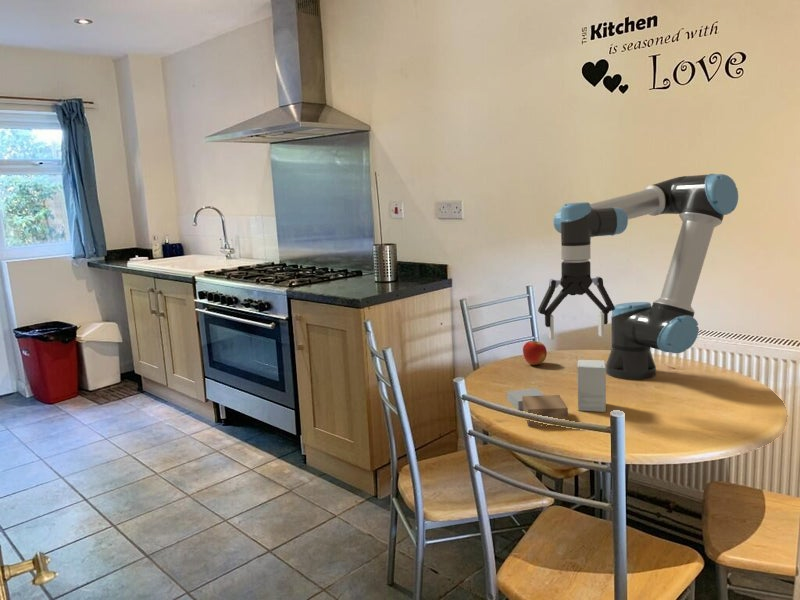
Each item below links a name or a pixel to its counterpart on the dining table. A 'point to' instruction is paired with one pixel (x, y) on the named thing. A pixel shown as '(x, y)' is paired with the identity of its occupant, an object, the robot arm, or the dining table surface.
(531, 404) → the walnut block
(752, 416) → the dining table surface
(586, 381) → the supplement box
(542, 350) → the apple
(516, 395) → the slate coaster
